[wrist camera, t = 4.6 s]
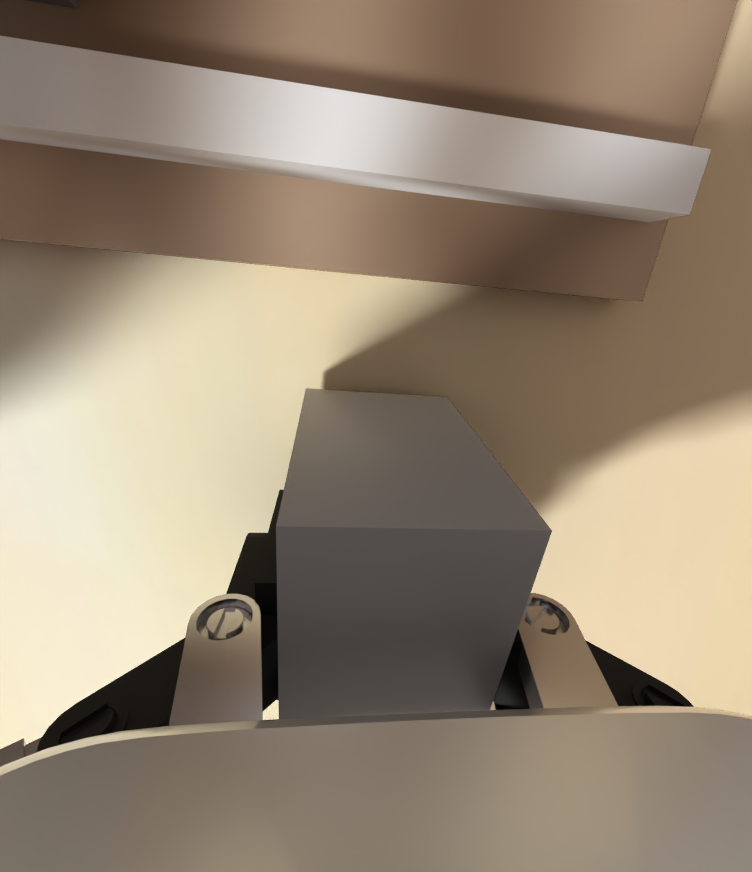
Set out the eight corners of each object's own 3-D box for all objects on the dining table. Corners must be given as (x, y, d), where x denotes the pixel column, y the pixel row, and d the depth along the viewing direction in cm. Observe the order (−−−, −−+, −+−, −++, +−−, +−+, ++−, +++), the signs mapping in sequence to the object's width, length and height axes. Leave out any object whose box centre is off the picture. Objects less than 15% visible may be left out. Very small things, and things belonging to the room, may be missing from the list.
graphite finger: (447, 396, 11) (552, 531, 6) (412, 597, 14) (457, 803, 9) (305, 388, 11) (275, 525, 5) (301, 597, 14) (280, 816, 9)
